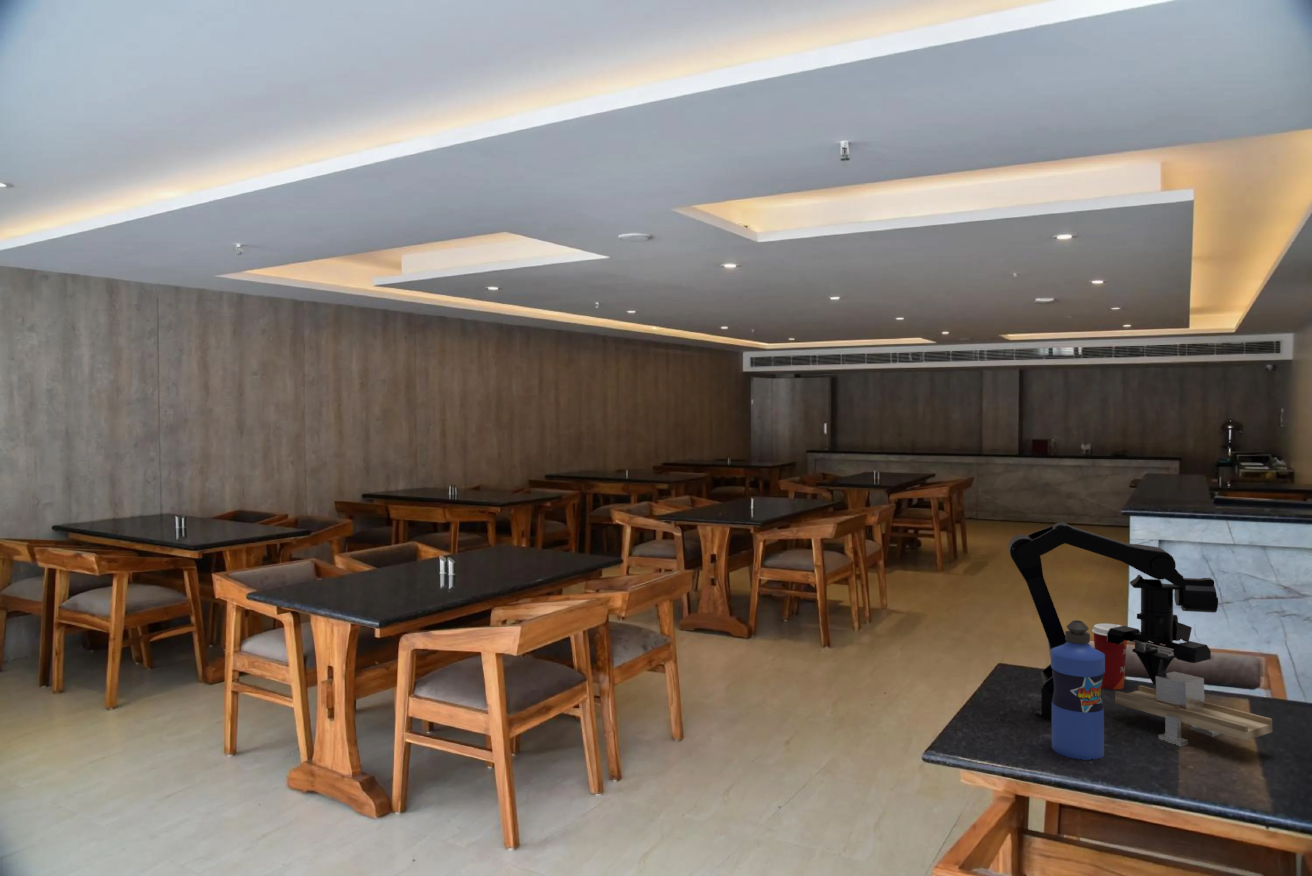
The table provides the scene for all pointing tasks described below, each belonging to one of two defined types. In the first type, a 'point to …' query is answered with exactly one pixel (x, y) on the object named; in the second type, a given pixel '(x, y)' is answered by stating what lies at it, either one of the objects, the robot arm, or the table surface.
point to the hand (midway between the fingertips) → (1156, 685)
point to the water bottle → (1077, 696)
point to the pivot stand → (1179, 731)
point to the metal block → (1180, 690)
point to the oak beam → (1199, 714)
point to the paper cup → (1111, 656)
